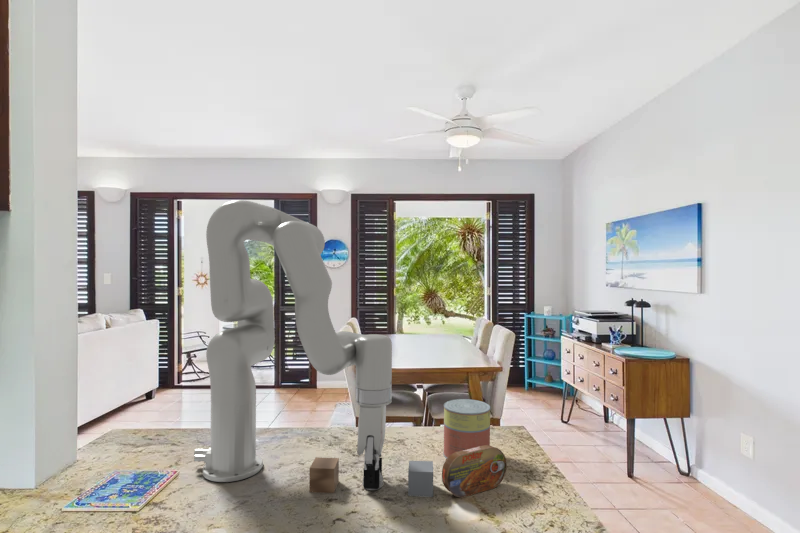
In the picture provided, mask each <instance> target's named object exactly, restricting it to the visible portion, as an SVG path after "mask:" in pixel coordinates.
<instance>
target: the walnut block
mask: <svg viewBox="0 0 800 533" xmlns="http://www.w3.org/2000/svg"><path fill="white" fill-rule="evenodd" d="M339 462H340V459H339V457H317V456H316V457H315V458H314V459H313V461H312V463H311V465H310V466H309V488H308V489H309V490H308V492H309V493H316V494H317V493H321V494H323V493H324V494H335V490H336V489H337V486H338V484H339V481H340V480H339V478H340V477H339V476H340V475H339V473H340V469H339V468H340V465H339V464H340V463H339Z"/></svg>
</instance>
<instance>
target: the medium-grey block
mask: <svg viewBox="0 0 800 533" xmlns="http://www.w3.org/2000/svg"><path fill="white" fill-rule="evenodd" d="M407 470H408V471H407V473H408V474H407V475H408V476H407V496H408V497H422V498H424V497H425V498H426V497H427V498H434V462H433V460H432V461H430V460H408V469H407Z"/></svg>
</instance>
